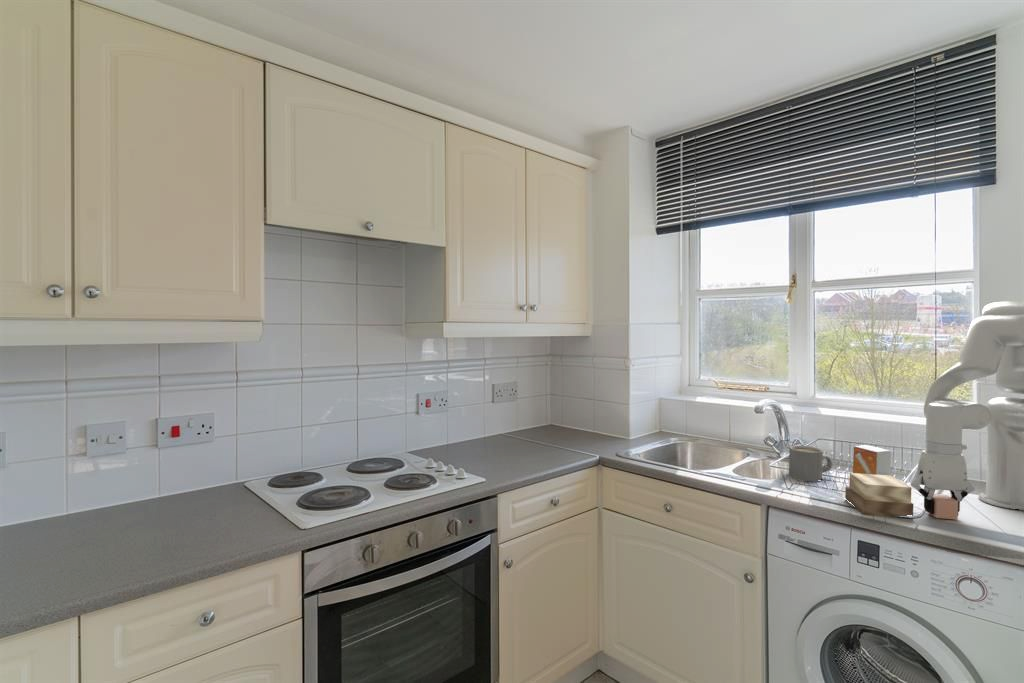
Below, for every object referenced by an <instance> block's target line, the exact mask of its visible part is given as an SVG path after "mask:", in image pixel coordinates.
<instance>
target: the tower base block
mask: <svg viewBox="0 0 1024 683" xmlns="http://www.w3.org/2000/svg"><path fill="white" fill-rule="evenodd" d="M845 498H846V499H847V500H848V501H849V502H851V503H852V504H853V505H854V506H855V507H856V508H857V509H858V510H857V509H856V508H855V509H856V510H857V511H858V512H859V513H861V514H862V515H863V516H872V517H873V516H876V517H885V516H886V517H887V516H889V518H891V517H890V516H907V515H912V516H913V517H914V503H913V502H911V504H909V503H896V502H883V501H870V500H865V499H863V498H862V497H861V496H859V495H858V494H857V493H856V492H854V491H853V490H852V489H850V488H849V486H845V496H844V499H845ZM887 518H888V517H887Z"/></svg>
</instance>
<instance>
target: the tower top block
mask: <svg viewBox="0 0 1024 683" xmlns="http://www.w3.org/2000/svg"><path fill="white" fill-rule="evenodd" d="M848 482H849V485H848V487H849V488H850V489H852V490H853V491H854V492H856V493H857V494H858V495H859V496H861V497H862V498H863V499H865V500H870V501H883V502H896V503H909V504H911V503H912V489H913V487H912V486H911V485H910V486H909V484H906V483H905V482H903V481H901V480H900V479H898V478H897V477H895V476H893V475H890V476H889V475H874V474H859V473H853V472H850V473H849V481H848Z"/></svg>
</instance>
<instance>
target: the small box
mask: <svg viewBox="0 0 1024 683" xmlns="http://www.w3.org/2000/svg"><path fill="white" fill-rule="evenodd" d="M852 460H853V461H852V473H859V474H874V475H889V476H891V464H892V463H891V462H892V450H890V449H885V448H881V447H877V446H873V445H869V444H861V445H854V446H853V458H852Z"/></svg>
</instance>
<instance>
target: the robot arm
mask: <svg viewBox="0 0 1024 683" xmlns="http://www.w3.org/2000/svg"><path fill="white" fill-rule="evenodd" d="M993 375H995V385H996V387H997V388H998V389H999V390H1000V391H1003V392H1006V393H1013V394H1018V395H1024V300H1015V301H1014V300H1012V301H1011V300H1009V301H997V302H991V303H989V304H986V305H985V306H984V307H983V309H982V316H980V317H976V318H975V319H974V320H972V321H971V323H970V324H969V328H968V332H967V335H966V336H965V340H964V342H963V346H962V348H961V352H960V356H959V358H958V361H957V363H956V364H955V365H953V366H951V367H950V368H949V369H947V370H946V371H944V372H943V373H942V374H940V375H939V376H938V377H937V378H936V379H935V380H934V381H933V382H932V383H931V385H930V387H929V389H928V391H927V395H926V397H925V400H924V403H923V404H924V405H923V415H924V417H925V419H926V420H925V421H926V423H925V450H921V453H920V456H919V459H918V464H917V471H916V472H917V473H916V478H915V479H914V480H913V481H912V482H911V483H910V487H912V489H915V490H916V491H917V492H918V493H919V494H920V495H921V496H922V497H923V508H924V510H925V512H926V511H927V512H926V513H928V512H929V513H930V515H931V514H934V500H933V495H934V494H936V493H935V492H936V491H937V490H939V491H949V493H950V497H952V498H953V499H955V500H957V501H958V513H960V511H961V507H960V506H961V502H962V501H963V500H964V498H965V497H968V495H969V494H971V493H973V492H974V491H975V487H974V486H973V484H972V483H970V482H969V480H968V471H967V470H968V469H967V463H966V459H965V455H964V454H963V450H965V451H966V450H967V449H968V446H967V445H966V444H963V443H962V440H963V439H962V438H963V430H971V431H977V430H981V429H984V428H986V429H987V451H986V452H987V456H986V478H985V480H986V481H985V482H986V483H985V492H981V493H979V494H978V499H979V500H980V501H982V502H984V503H986V504H989V505H992V506H996V507H1000V508H1004V509H1009V508H1010V509H1011V510H1015V509H1019V510H1018V511H1024V398H1019V397H1009V396H999V397H994V398H991V399H989V400H988V401H987V402H986V404H985V405H983V404H982V403H978V402H972V401H965V400H960V399H959V400H958V399H951V398H948V396H949V395H950V393H951V392H952V391H953V390H954V389H955V388H957V387H959V386H961V385H963V384H966V383H969V382H971V381H975V380H976V381H977V380H979V379H983V378H988V377H990V376H993ZM921 485H923V486H924V487H922V486H921ZM1010 509H1009V510H1010ZM929 513H928V514H929Z"/></svg>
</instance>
